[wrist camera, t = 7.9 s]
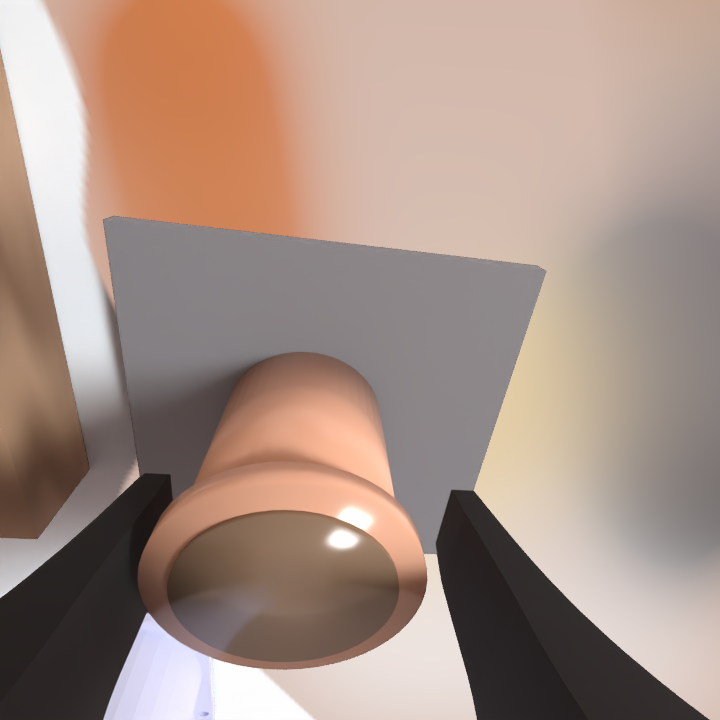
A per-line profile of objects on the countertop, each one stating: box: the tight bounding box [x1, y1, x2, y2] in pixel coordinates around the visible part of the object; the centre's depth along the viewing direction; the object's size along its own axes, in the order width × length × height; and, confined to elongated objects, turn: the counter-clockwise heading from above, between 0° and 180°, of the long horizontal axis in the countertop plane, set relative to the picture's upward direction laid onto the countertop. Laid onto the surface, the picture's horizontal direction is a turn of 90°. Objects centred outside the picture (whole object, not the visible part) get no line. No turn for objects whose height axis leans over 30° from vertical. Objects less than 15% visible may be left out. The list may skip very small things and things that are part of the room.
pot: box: [137, 352, 427, 669], centre depth 11 cm, size 6×6×6 cm
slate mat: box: [103, 216, 546, 554], centre depth 14 cm, size 12×12×1 cm
